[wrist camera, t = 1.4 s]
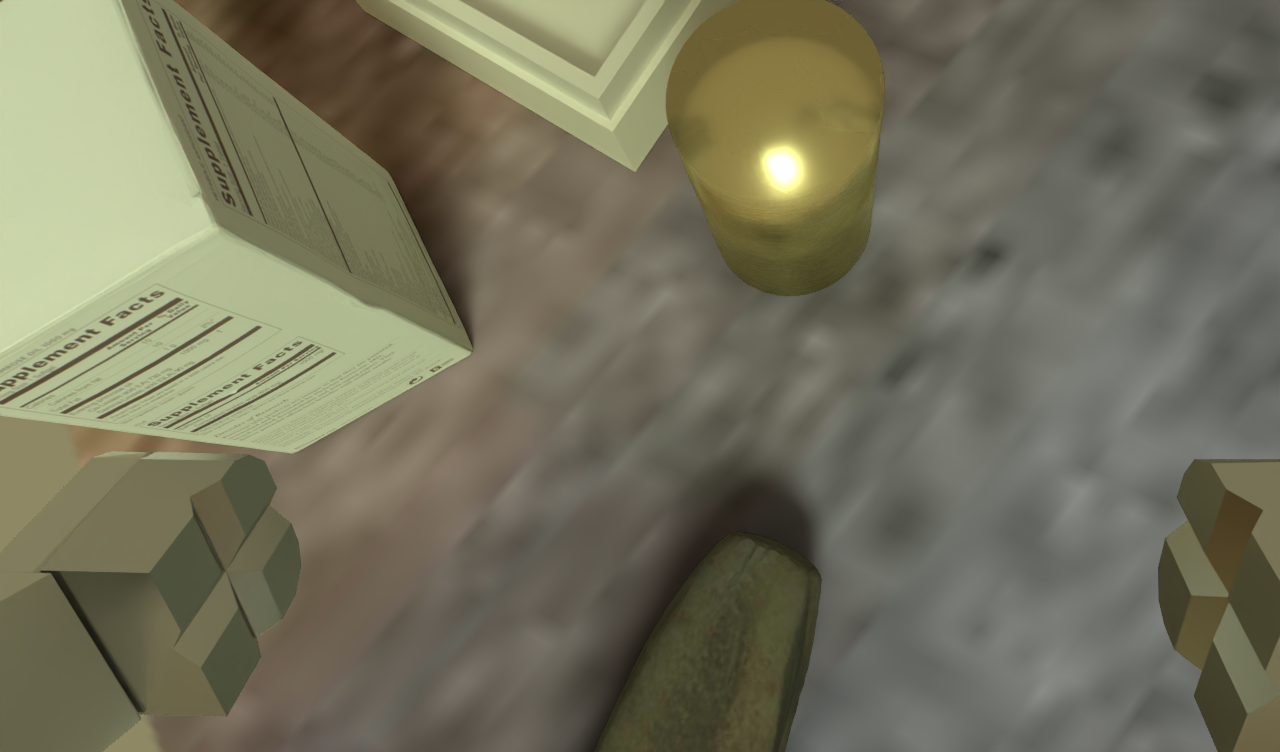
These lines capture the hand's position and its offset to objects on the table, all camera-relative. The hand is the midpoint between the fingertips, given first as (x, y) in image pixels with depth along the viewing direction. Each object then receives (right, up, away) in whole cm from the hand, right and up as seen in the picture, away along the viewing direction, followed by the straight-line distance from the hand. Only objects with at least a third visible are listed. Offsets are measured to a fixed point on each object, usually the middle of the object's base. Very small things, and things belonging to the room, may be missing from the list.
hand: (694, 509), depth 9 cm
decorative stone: (+1, -13, +26) cm, 29 cm away
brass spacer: (+5, +7, +28) cm, 29 cm away
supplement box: (-13, +4, +32) cm, 34 cm away
